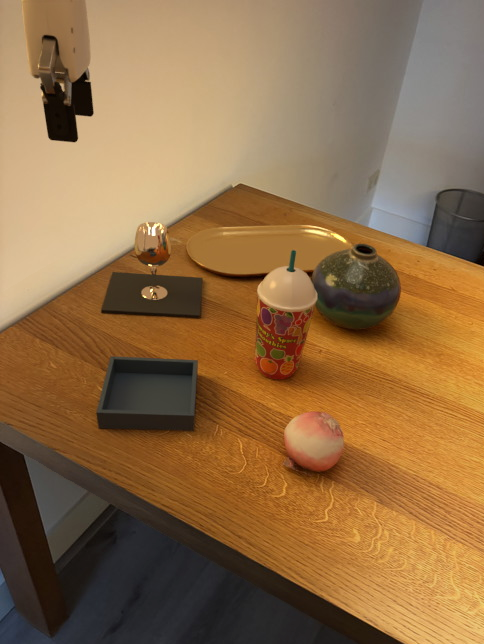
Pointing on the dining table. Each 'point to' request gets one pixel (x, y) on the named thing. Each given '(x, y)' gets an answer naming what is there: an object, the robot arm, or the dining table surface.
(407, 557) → the dining table surface
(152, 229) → the wineglass
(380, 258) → the vase
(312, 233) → the serving platter
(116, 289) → the mat
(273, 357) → the smoothie
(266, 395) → the dining table surface
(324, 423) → the onion
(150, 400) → the tray
